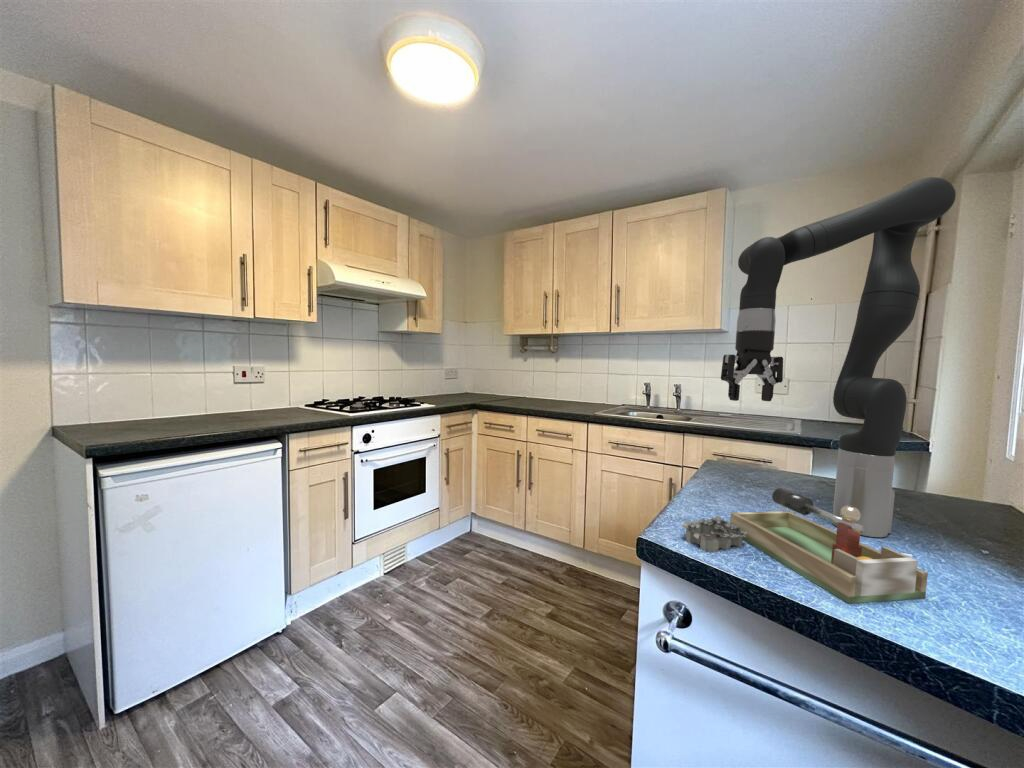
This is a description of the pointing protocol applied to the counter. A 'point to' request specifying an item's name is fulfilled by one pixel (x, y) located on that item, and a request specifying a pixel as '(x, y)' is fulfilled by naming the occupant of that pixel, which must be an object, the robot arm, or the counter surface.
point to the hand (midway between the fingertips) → (750, 400)
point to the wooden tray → (848, 575)
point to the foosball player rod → (846, 527)
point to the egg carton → (713, 534)
